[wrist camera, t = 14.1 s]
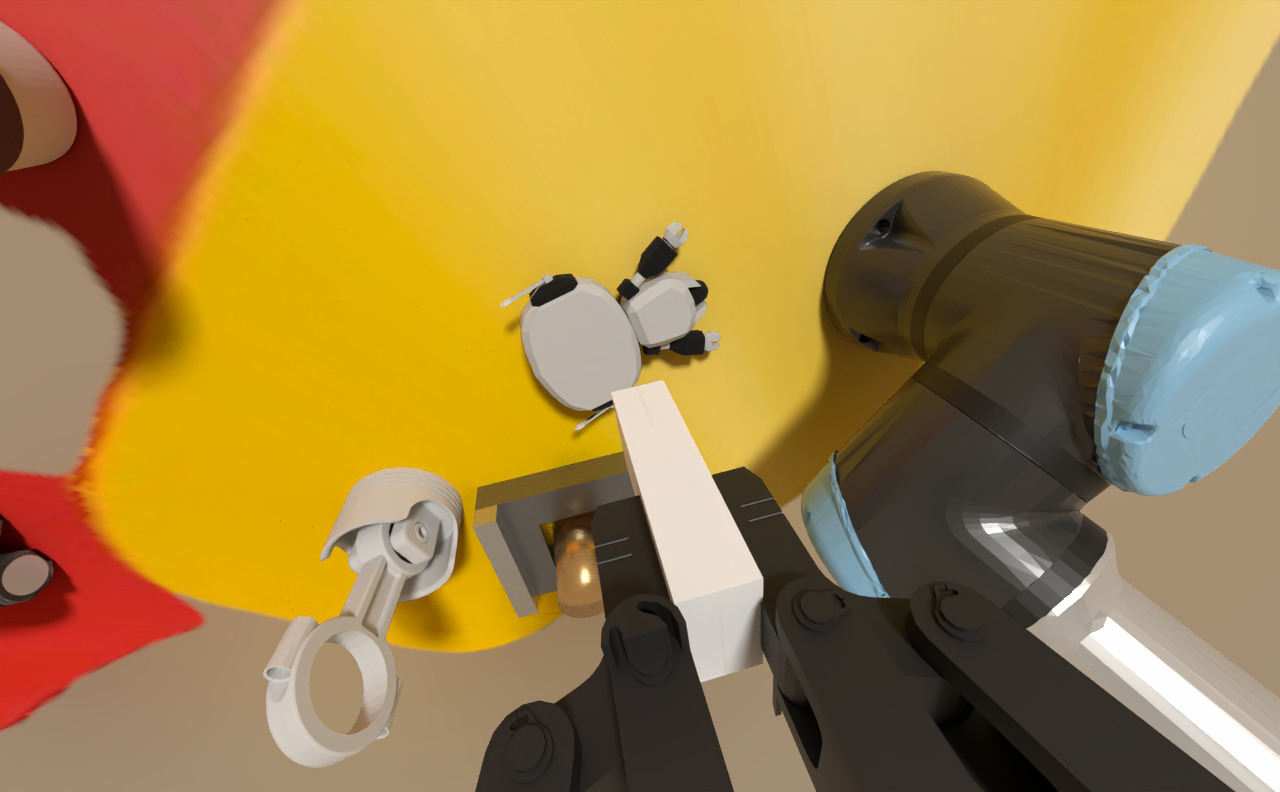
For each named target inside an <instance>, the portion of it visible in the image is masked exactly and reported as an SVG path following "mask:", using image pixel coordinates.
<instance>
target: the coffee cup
mask: <svg viewBox="0 0 1280 792" xmlns="http://www.w3.org/2000/svg"><path fill="white" fill-rule="evenodd" d="M76 132H77V117H76V111H75V107H74V104H73V101H72V99H71V96H70V94H69V92H68V90H67V88H66V86H65V84H64V83H63V81H62V80H61V78H60V77H59V75H58V74H57V72H56V71H55V70H54V68H53V67H52V66H51V64H50V63H49V62H48V61H47V60H46V59H45V58H44V57H43V56H42V54H41V53H40V52H39V51H38V50H37V49H35V48H34V47H33V46H32V45H31V44H30V43H29V42H28V41H26V40H25V39H24V38H23V37H22V36H20V35H19V34H18V33H17V32H15V31H14V30H12V29H11V28H10V27H8V26H7V25H5V24H4V23H2V22H0V175H2V174H4V173H5V172H8V171H13V170H18V169H22V168H27V167H32V166H37V165H42V164H46V163H49V162H51V161H54V160H56V159H57V158H59V157H61V156H62V155H64V154H65V153H66V152H67V151H68V150H69V149H70V147H71V145H72V144H73V142H74V139H75V136H76Z"/></svg>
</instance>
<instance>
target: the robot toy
mask: <svg viewBox="0 0 1280 792" xmlns="http://www.w3.org/2000/svg"><path fill="white" fill-rule="evenodd" d="M681 227H682V225H681V224H680V223H678V222H673V223H671V224H670V225H669V226H667V227H666V229H665V233H664V236H663V240H662V239H661V238H660V237H658V236H657V237H656V238H655V239H654V240H653V241H652V242H651V244H650V245H649V246H648V247H647V248H646V250H645V251H644V252H643V253H642V255H641V259H640V262H639V266H638V271H637V273H636V274H635V275H634V277H633V278H632V279H631V280H629V279H624V281H623V282H622V283H621V284H620V285H619V287H618V288H617V291H618V292H619V293H620V294H621V295H622V298H621V302H620V305H621V306H620V305H619V304H618V302H617V301H616V299H615V298H614V297H613V296H612V295H611V294H610V292H609V291H608V290H607V289H606V288H605V287H604V286H603V285H602V284H600V283H598V282H597V281H595V280H593V279H591V278H589V277H585V278H575V277H574V276H573V275H572V274H562V275H555V276H553V277H552V276H551V275H550V274H547V275H545V276H544V277H542V278H541V279H542V280H540V281H539V282H537V283H535V284H533V285H532V286H530V287H528V288H527V289H525V290H523V291H521V292H520V293H518V294H516V295H515V296H513V297H511V298H508V299H506V300H504V301H503V302H502V303H501V305H500V306H499V307H503V306H507V305H509V304H510V303H512V301H514V300H516V299H517V298H519V297H521V296H522V295H524V294H526V293H528V292H529V291H531V290H532V292H531V293H530V294H529V295H530V301H529V302H528V303H527V304H526V306H525V307H524V308H523V309H522V313H521V320H520V327H521V334H522V340H523V344H524V348H525V352H526V355H527V358H528V360H529V363H530V365H531V367H532V370H533V372H534V375H535V377H536V378H537V379H538V380H539V381H540V383H541V384H542V385H543V386H544V387H545V388H546V389H547V390H548V392H549V393H550V394H551V395H552V396H553V397H554V398H556V399H557V400H558V401H559V402H560V403H562V404H563V405H565V406H566V407H569V408H571V409H574V410H577V411H584V410H592V411H597V410H600V411H598V412H597V413H595V414H594V415H592V416H591V417H590V418H588V419H587V420H585V421H584V422H581V423H580V424H578V425H577V426H576V428H575V430H580V429H582V428H583V427H585V425H586V424H588V423H589V422H590V421H592V420H593V419H595V418H596V417H598V416H599V415H600V414H602V413H603V412H605V411H606V410H608V409H609V408H614V404H613V400H612V395H611V392H614V391H619V390H623V389H627V388H631V387H633V386H634V385H635V384H636V383H637V381H638V379H639V376H640V372H641V354H640V348H639V344H638V341H639V343H640V344H641V345H642V346H643V351H644V354H646V355H653V354H659V352H660V349H670V350H672V351H674V352H677V353H679V354H682V355H699V354H703V352H704V350H705V351H707V352H711V351H714V350H717V349H718V347H719V343H718V342H712V341H716V340H720V335H719V334H718V332H713V331H709V332H707V333H705V334H703V333H702V331H699V330H692V328H693V326H694V324H695V323H696V322H697V321H698V320H699V319H700V318H701V317H702V316H703V315H704V314H705V311H706V305H707V302H705V301H704V299H705V298H706V297H707V294H708V288H707V286H706V284H705V283H704V282H703V281H700V280H694V279H693V278H692V277H690V276H689V275H688V274H686V273H685V272H673V273H669V272H666V271H664V270H665V268H666V267H667V266H668V265H669V264H670V263H671V261H672V260H673V259H674V258H675V257H676V256H677V255H678V254H677V253H676V252H675V251H674V250H673V249H675V248H678V247H680V246H682V245H683V244H684V242H685V241H686V239H687V237H688V233H687V231H686V229H684V228H682V230H681V231H680V232H679V233H678V234H677V236H675V234H676V233H677V232H678V230H679V229H680V228H681ZM621 307H622V308H621Z"/></svg>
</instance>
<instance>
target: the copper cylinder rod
mask: <svg viewBox="0 0 1280 792" xmlns="http://www.w3.org/2000/svg"><path fill="white" fill-rule="evenodd" d="M595 512H596V510H595V511H591V512H587V513H583V514H579V515H575V516H571V517H568V518H564V519H560V520H556V521H552V523H553V536H554V550H555V564H556V577H557V591H558V604H559V608H560V610H561V611H562V612H563V613H564V614H566V615H568V616H571V617H577V618H583V617H590V616H594V615H596V614H599V613H601V612H603V611H604V605H603V599H602V592H601V586H600V579H599V573H598V567H597V566H598V565H597V560H596V554H595V546H594V541H593V534H592V528H591V524H592V521H593V518H594V515H595Z"/></svg>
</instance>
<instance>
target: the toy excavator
mask: <svg viewBox="0 0 1280 792" xmlns="http://www.w3.org/2000/svg"><path fill="white" fill-rule="evenodd" d="M2 522H3V520H0V535H1V533H2ZM53 573H54V571H53V565H52V561H50V560H46V559H43V558H42V557H40V556H39V555H37V554H36V553H35V552H33V551H32V550H20V551H15V552H10V553H4V554H0V607H2V606H7V605H11V604H16V603H21V602H25V601H28V600H31V599H33V598H35V597H37V596H38V594H37V592H39V591H40V590H42V589H43V588H45V587H46V586H47V585H48V584H49V583H50V581H51V579H52V577H53Z"/></svg>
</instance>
